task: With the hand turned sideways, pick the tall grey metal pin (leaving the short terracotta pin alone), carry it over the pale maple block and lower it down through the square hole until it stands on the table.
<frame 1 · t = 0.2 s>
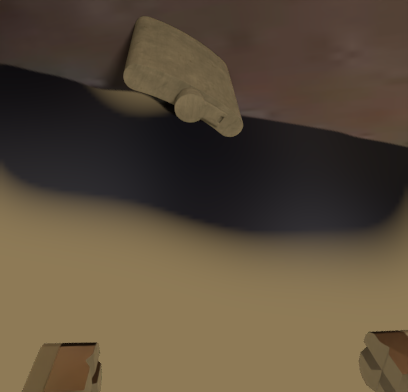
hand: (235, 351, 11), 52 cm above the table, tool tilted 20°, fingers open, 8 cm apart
hip flask: (184, 46, 56), on the table
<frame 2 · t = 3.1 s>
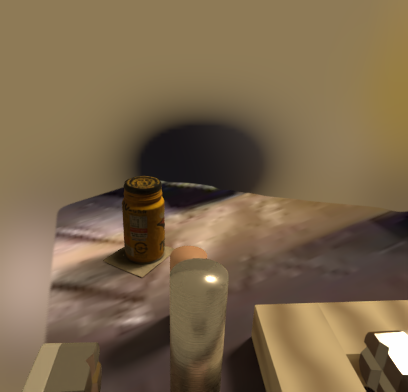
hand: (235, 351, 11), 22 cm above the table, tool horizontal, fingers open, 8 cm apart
short terracotta pin: (187, 319, 43), on the table
condiment: (140, 257, 55), on the table
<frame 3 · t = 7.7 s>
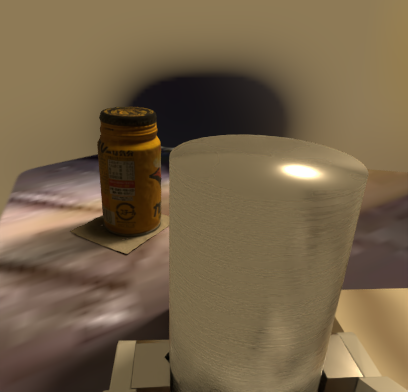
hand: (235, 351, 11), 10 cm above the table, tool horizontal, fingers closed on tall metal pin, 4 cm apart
condiment: (126, 228, 38), on the table
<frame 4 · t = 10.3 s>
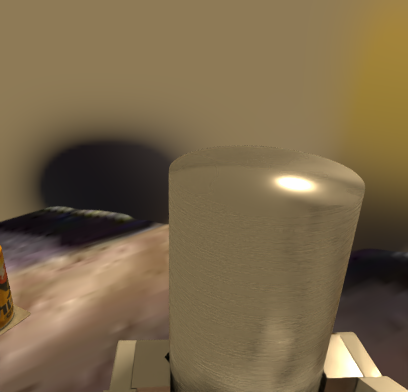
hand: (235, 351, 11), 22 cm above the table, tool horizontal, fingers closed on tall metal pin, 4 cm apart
when the fingers open (11 cm above the table, at t = 13.3 s): tall metal pin stays where it is, on the table.
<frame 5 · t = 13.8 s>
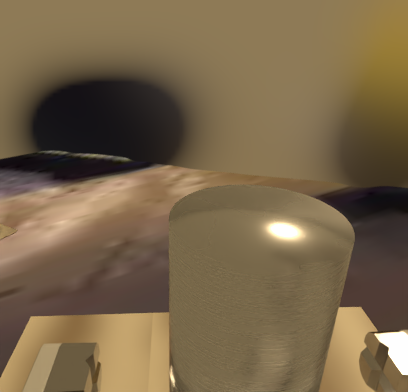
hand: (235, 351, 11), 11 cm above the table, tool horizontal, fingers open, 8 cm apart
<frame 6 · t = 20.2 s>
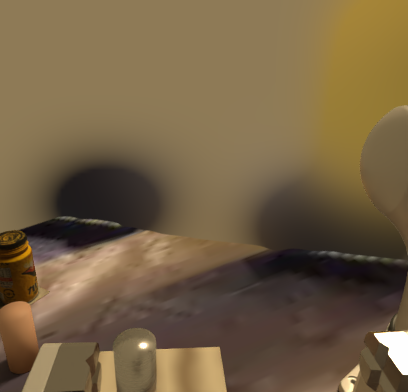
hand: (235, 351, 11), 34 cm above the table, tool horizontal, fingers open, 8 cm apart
short terracotta pin: (24, 361, 51), on the table
condiment: (15, 299, 63), on the table
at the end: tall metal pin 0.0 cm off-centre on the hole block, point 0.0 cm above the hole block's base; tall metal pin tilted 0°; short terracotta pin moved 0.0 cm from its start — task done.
